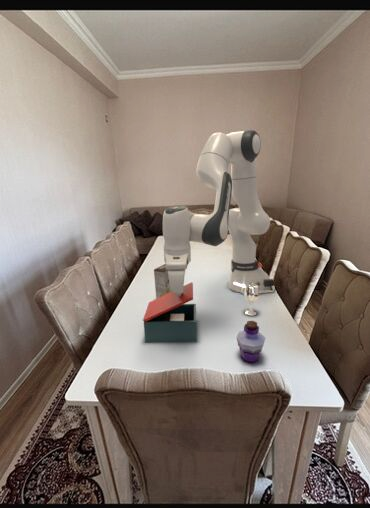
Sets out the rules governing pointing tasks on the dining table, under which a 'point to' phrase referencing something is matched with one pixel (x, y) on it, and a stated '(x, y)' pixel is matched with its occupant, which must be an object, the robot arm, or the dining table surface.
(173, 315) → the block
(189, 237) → the robot arm
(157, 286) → the coffee box
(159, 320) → the lunchbox
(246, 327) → the potion bottle
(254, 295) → the wineglass
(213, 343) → the dining table surface
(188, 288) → the lid
